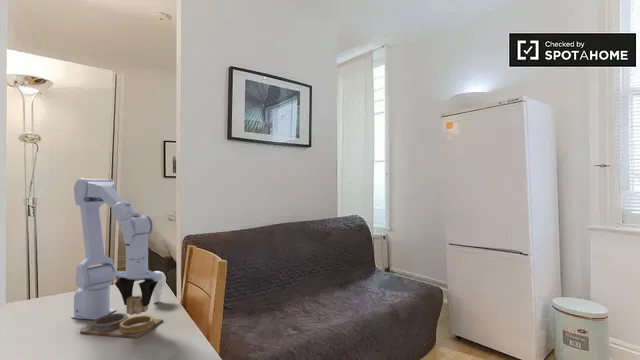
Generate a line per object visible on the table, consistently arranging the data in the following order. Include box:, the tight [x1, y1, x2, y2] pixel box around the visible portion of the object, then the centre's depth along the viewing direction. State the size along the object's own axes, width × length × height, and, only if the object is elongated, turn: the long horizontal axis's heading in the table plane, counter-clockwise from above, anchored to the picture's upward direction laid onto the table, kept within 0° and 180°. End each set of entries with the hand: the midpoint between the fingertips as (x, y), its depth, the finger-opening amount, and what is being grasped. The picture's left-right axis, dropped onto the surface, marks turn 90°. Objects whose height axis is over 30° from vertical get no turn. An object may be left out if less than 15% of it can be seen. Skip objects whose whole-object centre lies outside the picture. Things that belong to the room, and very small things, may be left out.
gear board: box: [80, 312, 164, 339], centre depth 96 cm, size 18×11×2 cm, turn 80°
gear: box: [126, 293, 149, 316], centre depth 95 cm, size 5×5×4 cm
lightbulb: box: [151, 270, 167, 303], centre depth 116 cm, size 6×6×11 cm
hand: (137, 304), depth 95 cm, fingers closed on gear, 5 cm apart
